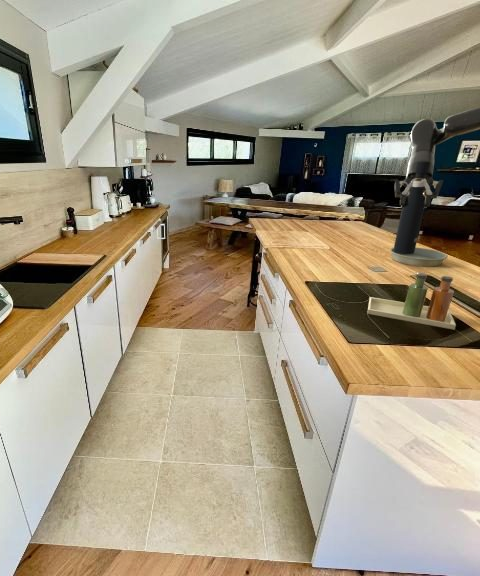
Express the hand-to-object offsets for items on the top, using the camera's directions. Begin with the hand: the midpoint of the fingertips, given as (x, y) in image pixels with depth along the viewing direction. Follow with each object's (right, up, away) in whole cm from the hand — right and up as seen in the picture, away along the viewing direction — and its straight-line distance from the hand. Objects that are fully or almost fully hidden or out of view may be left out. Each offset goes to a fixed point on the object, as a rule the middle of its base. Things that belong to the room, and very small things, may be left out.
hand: (414, 206), depth 105 cm
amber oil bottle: (+4, -37, -4) cm, 38 cm away
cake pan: (+42, -14, +58) cm, 73 cm away
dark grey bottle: (+1, -15, +7) cm, 17 cm away
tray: (-3, -37, -1) cm, 37 cm away
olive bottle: (-2, -36, -1) cm, 36 cm away
